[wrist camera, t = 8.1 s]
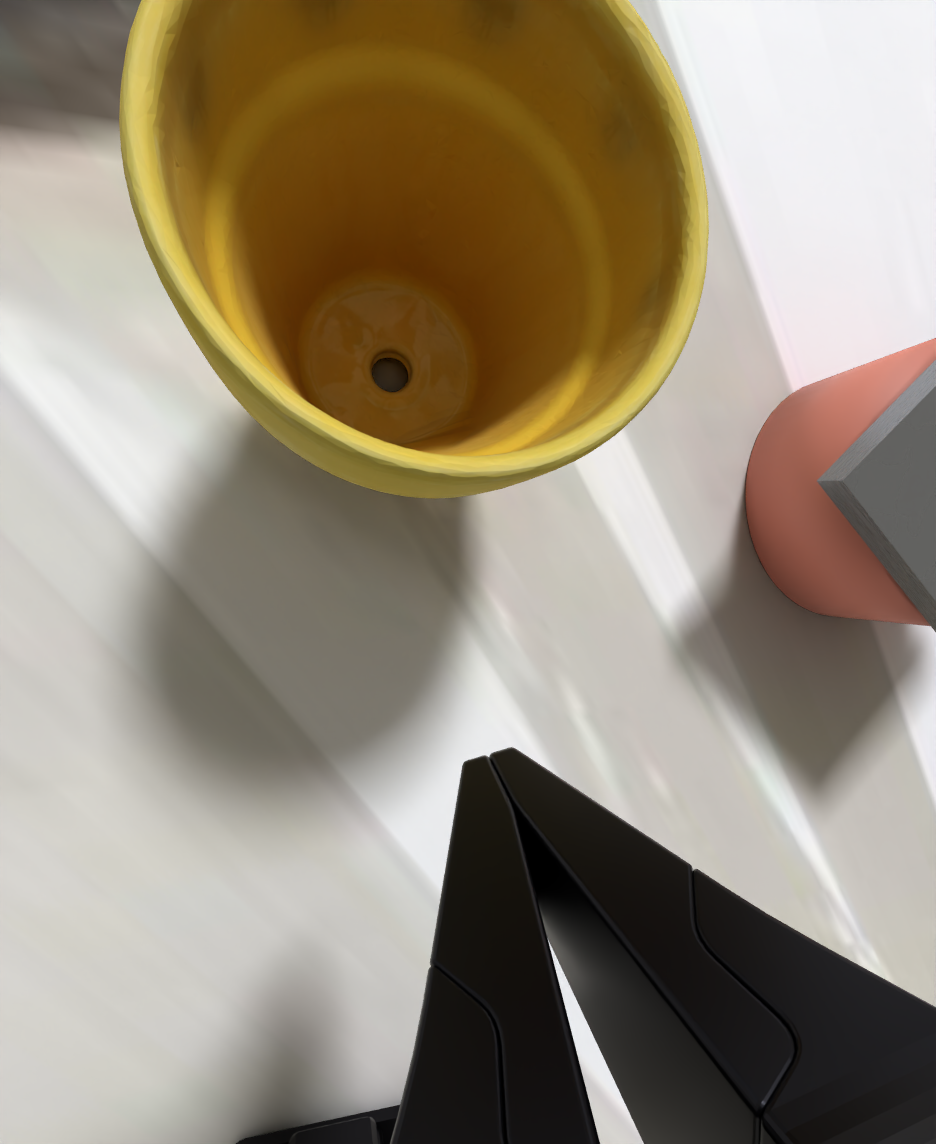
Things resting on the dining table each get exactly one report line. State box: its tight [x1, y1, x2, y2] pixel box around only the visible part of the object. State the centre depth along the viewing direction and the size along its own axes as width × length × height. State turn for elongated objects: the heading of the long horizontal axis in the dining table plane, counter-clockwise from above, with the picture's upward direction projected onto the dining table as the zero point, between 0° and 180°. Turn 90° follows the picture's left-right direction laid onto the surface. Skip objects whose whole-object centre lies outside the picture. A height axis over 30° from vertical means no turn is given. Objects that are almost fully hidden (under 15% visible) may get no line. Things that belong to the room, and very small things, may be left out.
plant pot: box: [119, 0, 709, 498], centre depth 13 cm, size 10×10×10 cm
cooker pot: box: [746, 338, 936, 626], centre depth 22 cm, size 15×11×5 cm
